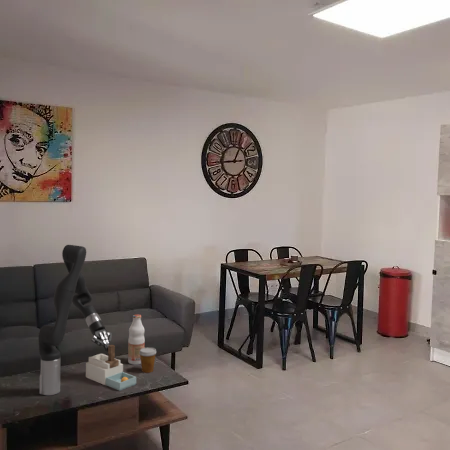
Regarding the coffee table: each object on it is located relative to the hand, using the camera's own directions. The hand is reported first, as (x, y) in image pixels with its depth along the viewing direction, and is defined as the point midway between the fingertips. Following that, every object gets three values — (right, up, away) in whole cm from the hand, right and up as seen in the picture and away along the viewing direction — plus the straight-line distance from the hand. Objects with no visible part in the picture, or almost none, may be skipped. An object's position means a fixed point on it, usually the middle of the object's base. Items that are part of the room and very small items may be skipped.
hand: (109, 350), depth 262 cm
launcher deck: (-3, -15, +4) cm, 16 cm away
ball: (+10, -14, -7) cm, 18 cm away
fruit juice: (+9, -14, +29) cm, 33 cm away
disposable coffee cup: (+18, -15, +16) cm, 28 cm away
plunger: (+2, -8, -1) cm, 8 cm away
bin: (+7, -16, -5) cm, 19 cm away
